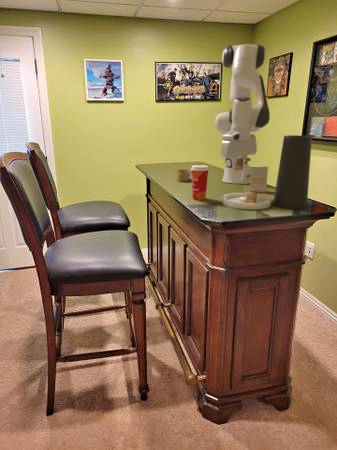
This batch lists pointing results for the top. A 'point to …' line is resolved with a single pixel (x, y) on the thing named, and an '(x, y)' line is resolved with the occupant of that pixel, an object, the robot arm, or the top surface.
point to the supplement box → (258, 178)
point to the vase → (293, 173)
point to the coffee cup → (199, 181)
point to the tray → (240, 201)
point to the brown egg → (239, 164)
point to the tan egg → (251, 197)
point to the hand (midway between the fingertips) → (238, 165)
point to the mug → (183, 175)
